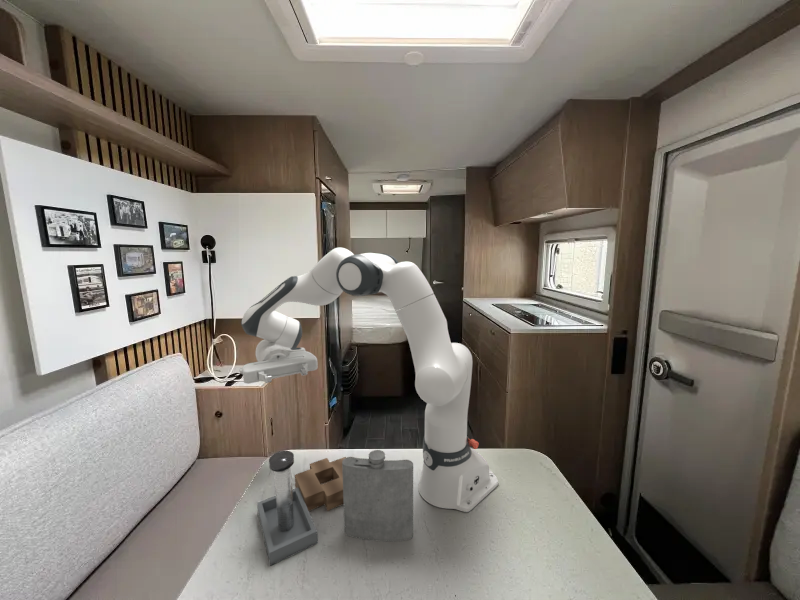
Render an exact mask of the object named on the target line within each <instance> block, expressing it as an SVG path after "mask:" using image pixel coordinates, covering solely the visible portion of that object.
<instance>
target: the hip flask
mask: <svg viewBox="0 0 800 600" xmlns="http://www.w3.org/2000/svg"><path fill="white" fill-rule="evenodd" d="M385 459H386V454H385V452H384V451H383V450H380V449H375V450H372V451H370V452H369V453H368V458H359V457H353V456H348V457H346V458H345V459H343V461H342V472H343V502H344V504H343V524H344V525H343V526H344V529H343V530H344V534H345V536H347V537H349V538H350V537H352V538H356V539H360V540H367V541H377V542H400V541H401V542H402V541H409V540H411V539H412V538H413V536H414V462H413V461H412V460H410V459H396V460H395V459H394V460H385Z"/></svg>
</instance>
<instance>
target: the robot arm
mask: <svg viewBox="0 0 800 600" xmlns="http://www.w3.org/2000/svg"><path fill="white" fill-rule="evenodd" d="M344 292H345V294H348V295H351V296H354V297H355V296H357V297H364V296H370V295H377V294H378V293H383V294H384V295H386V296H387V297H388V299H389V300H390V303H391V305H392V306H393V309H394V312H395V313H396V316H397V318H398V320H399V323H400V325H401V326H402V329H403V331H404V333H405V336H406V338H407V341H408V344H409V348H410V349H409V350H410V352H411V358H412V363H413V366H414V372H415V380H414V387H415V391H416V393H417V394H418V397H420V399H421V400H423V402H425V403H426V406H425V410H424V436H423V439H422V458H423V463H422V469H421V474H420V479H419V480H418V484H417V485H418V487H417V489H418V492H419V494H420V495H419V496H421V498H423V499H424V500H425V501H426V502H427V503H428V504H430V505H432V506H434V507H436V508H440V509H447V510H448V509H454V510H458V511H460V512H464V513H468V512H471V510H473V509H474V508H475V507H476V506H477V505H478V504H479V503H480V502H482V501H483V499H485V498H486V497H487V496H488V495H489V494H490V493H491V492H492V491H494V489H496V488H497V487H498V486H499V479H498V477H497V476H496V474H494V472H493V471H492V470H491V469H490V466H489V463H488V461H487V460H486V458H484V456H483V455H482V454H481V453H479V452H478V451H477V449H478V447H479V445H480V444H479V443H480V442H478V441H477V440H475V439H474V438H471V439H470V438H469V436H467V435H468V413H469V406H470V405H469V404H470V397H471V396H470V395H471V386H472V374H473V355H472V353H471V351H470V350H469V348H468V347H467V346H466V345H464V344H462V343H460V342H459V343H458V342H451V338H450V334H449V329H448V321H447V318H446V316H445V314H444V312H443V310H442V307H441V306H440V303H439V301H438V299H437V298H436V295H435V294H434V291H433V289H432V286H431V285H430V283H429V281H428V280H427V278H426V276H425V275H424V273H423V272H422V270H421V269H420V268H419V266H418V265H416V263H414V262H411V261H400V262H399V260H398V259H397V258H396V257H395V256H393V255H390V254H389V253H374V252H365V253H360V254H358V253H357V254H354V253H353V251H351V250H349V249H347V248H345V247H335V248H333V249H331V250H330V251H329V252H328V253H327V254H325V255H324V256H323V257H322V258H321V259H320V260H319V261H318V262H317V263H315V265H314V266H313V267H312V269H310V270H309V271H307V272H305V273H303V274H300V275H293V276H290V277H288V278H287V279H285V280H284V281H283V282H281V283H280V284H279V285H277V286H276V287H275V288H274V289H272V290H271V291H270V292H269V293H268V294H266V296H264V297H263V298H262V299H260V300H259V301H258V302H256V303H253V305H251V306H250V307H249V308H248V309H247V310H246V311H245V312H244V314H243V316H242V319H241V322H240V323H241V327H242V330H243V331H244V333H245V334H246V335H248V336H252V337H257V338H259V339H263V340H260V341H259V342H258V344H257V345H256V348H255V358H256V361H255V362H249V363H246V364H244V365H243V366H242V368H241V367H240V368H239V373H240V374H241V375H242V377H243V383H244V384H253V383H259V382H264V383H265V384H268V383H269V384H270V383H272V382H273V381H272V380H274V379H278V378H282V377H289V376H293V375H298V374H300V375H301V376H302V377H303V376H307V375H308V374H309V373H308V372H312V371H313V372H314V371H317V369H318V366H319V365H318V364H319V363H318V358H317V356H315V354H313V353H312V352H310V351H307V350H306V348H305V347H299V344H300V342H301V339H302V337H303V327H302V324H301V322H300V321H299V320H297V319H296V318H293V317H291V316H288V315H286V314H284V313H281V312H279V311H277V309H278V308H280V306H282V305H283V304H286V303H300V304H306V305H312V306H316V307H317V306H319V307H321V306H326V305H329V304H332V303H333V302H334V301H335V300H338V299H337V298H339V296H341V294H343V293H344Z"/></svg>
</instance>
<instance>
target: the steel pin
mask: <svg viewBox="0 0 800 600" xmlns="http://www.w3.org/2000/svg"><path fill="white" fill-rule="evenodd" d="M294 455H295V454H294V453H293V452H292V451H290V450H279V451H277V452H275V453H273V454H271V456H270V457H269V459H268V465H269V469H270V470H271V471H272V472H273V477H274V478H273V479H274V490H275V492H274V494H275V496H276V506H277V520H278V529H279V531H281V532H286V531H289V530H290V529H292V528H293V526H294V510H293V495H292V489H293V485H292V481H293V480H292V467H293V465H294V463H295V458H294V457H295V456H294Z"/></svg>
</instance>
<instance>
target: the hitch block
mask: <svg viewBox="0 0 800 600" xmlns="http://www.w3.org/2000/svg"><path fill="white" fill-rule="evenodd" d="M345 458H347V457H346V456H344V457H343V456H342V457H341V458H339V459H336V460H335V459H334V460H332V461H330V460H329V458H328V457H325V458H322V459H320V460H316V461H314V462H311V463H309V469H306V470H304V471H302V472H299V473H296V474H294V485H295V487H294V489H295V488H297V487H298V488H299V490H300V492H301V495H302V497H303V499H304V501H305V504H306V506H307V508H308V511H309V512H311V511H313V510H315V509H317V508H320V507H322V506H324V507H325V508H326V511H327V512H329V511H331V510H333V509H335V508H337V507H341V506H342V505H344V502H343V472H342V461H343V459H345Z"/></svg>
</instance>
